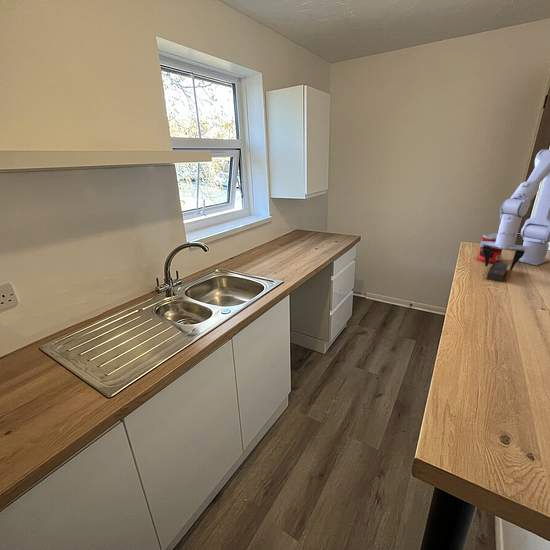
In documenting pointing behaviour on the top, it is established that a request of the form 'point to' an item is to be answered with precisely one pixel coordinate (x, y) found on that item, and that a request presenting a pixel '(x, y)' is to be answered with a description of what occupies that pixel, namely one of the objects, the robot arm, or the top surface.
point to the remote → (497, 271)
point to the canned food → (494, 253)
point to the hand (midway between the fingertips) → (498, 267)
